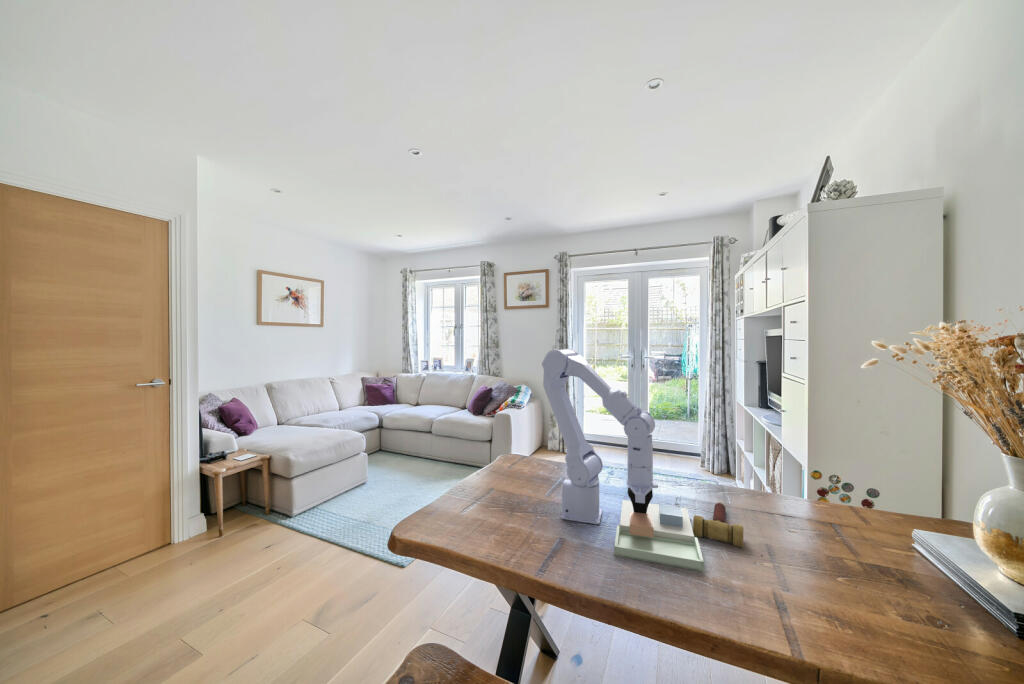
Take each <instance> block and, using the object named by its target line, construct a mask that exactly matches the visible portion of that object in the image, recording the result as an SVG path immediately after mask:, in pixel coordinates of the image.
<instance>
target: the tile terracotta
mask: <svg viewBox="0 0 1024 684" xmlns="http://www.w3.org/2000/svg"><path fill="white" fill-rule="evenodd" d="M630 534H631V535H638V536H645V537H653V520H652V514H645V513H636V512H630Z"/></svg>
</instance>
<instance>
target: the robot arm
mask: <svg viewBox="0 0 1024 684" xmlns="http://www.w3.org/2000/svg"><path fill="white" fill-rule="evenodd" d="M541 366H542V368H543V383H542V385H543V389H544V392H545V394H546V397H547V399H548V402H549V405H550V408H551V411H552V413H553V416H554V417H555V421H556V423H557V426H558V428H559V431H560V433H561V435H562V439H563V441H564V444H565V446H566V453H565V463H566V474H567V477H568V478H566V479H563V483H562V487H561V489H562V491H561V493H562V494H561V513H562V514H561V520H567V521H575V522H580V523H585V524H593V525H600V523H601V517H602V513H603V509H602V508H600V478H599V474H600V473H601V472H602V470H603V468H604V467H603V466H604V464H603V460H602V458H601V456H599V455H598V454H597V452H596V451H595V449H594V447H593V445H592V444H591V443H589V442H588V441H587V440H586V437H585V434H584V432H583V430H582V427H581V425H580V424H581V423H580V422H579V419H578V418H577V417H578V416H577V414H576V412H575V408H574V407H573V404H572V402H571V399H570V397H569V394H568V391H567V389H566V384H567V382H568V380H569V377H574V378H576V377H577V378H579V379H580V380H581V381H582V382H583V383H584V384H585V385H587V387H589V388H590V389H591V390H592V391H593V392H595V394H597V395H598V396H599V397H600V398H601V401H602V406H603V407H604V408H605V410H607V412H608V413H610V415H611V416H612V417H613V418H615V420H617V422H619V423H620V424H621V425H622V426H623V432H624V434H625V435H626V437H627V479H626V485H627V486H628V488H627V496H628V497H629V499H630V501H631V502H632V505H633V510H634V512H636V513H645V514H646V513H647V508H648V505H649V503H650V502H651V500H652V499H653V496H654V494H653V489H658V488H659V482H657V481H654V478H653V477H654V475H653V474H654V473H653V472H654V469H653V467H654V464H653V463H654V460H653V459H654V457H653V454H654V448H653V434H652V433H653V432H654V431H655V427H656V422H655V419H654V418H653V416H652V415H651V413H650V412H649V411H645V410H643V408H642V407H640V406H639V407H638V406H637V405H636V404H635V403H634V402H633V401H632V400H631V399H630V398H629V397H628V395H629V394H628V393H627V392H626V391H622V390H620V389H615V388H614V389H612V387H611V386H610V385H608V383H607V382H606V381H605V380H604V379H603V377H601V376H600V375H599V374H598V373H597V372H596V370H595V369H594V368H593V367H592V366H591V365H590V364H589V363H588V362H587V360H586V359H585V358H584V357H583V356H582V355H581V354H579V353H578V351H576V350H575V349H574V348H564V349H552V350H549V351H548V352H547V353H546V355H545V356H544V359H543V360H542V362H541ZM650 504H651V503H650Z"/></svg>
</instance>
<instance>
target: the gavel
mask: <svg viewBox="0 0 1024 684" xmlns="http://www.w3.org/2000/svg"><path fill="white" fill-rule="evenodd" d="M713 508H714V509H713V515H712V519H705V518H704V516H700V515H696V514H695V515H694V516H693V520H692V530H693V534H694V537H696V538H701V539H702V538H703V537H706V538H707V539H712V540H714V541H719V542H723V543H726V544H727V543H731V544H732V546H733V545H734V547H737V546H738V547H739V548H741V547H743V548H744V526H743V525H742V524H737V523H733V524H732V525H731V524H729V523H725V521H726V505H724V504H723V502H717V503H715V504H714V507H713Z"/></svg>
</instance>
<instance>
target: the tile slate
mask: <svg viewBox="0 0 1024 684" xmlns="http://www.w3.org/2000/svg"><path fill="white" fill-rule="evenodd" d="M658 505H659V521H660V524H664V525H671V526H677V527H683V516H682V511H681V508H682V507H681V506H674V505H666V504H660V503H659V504H658Z"/></svg>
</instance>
